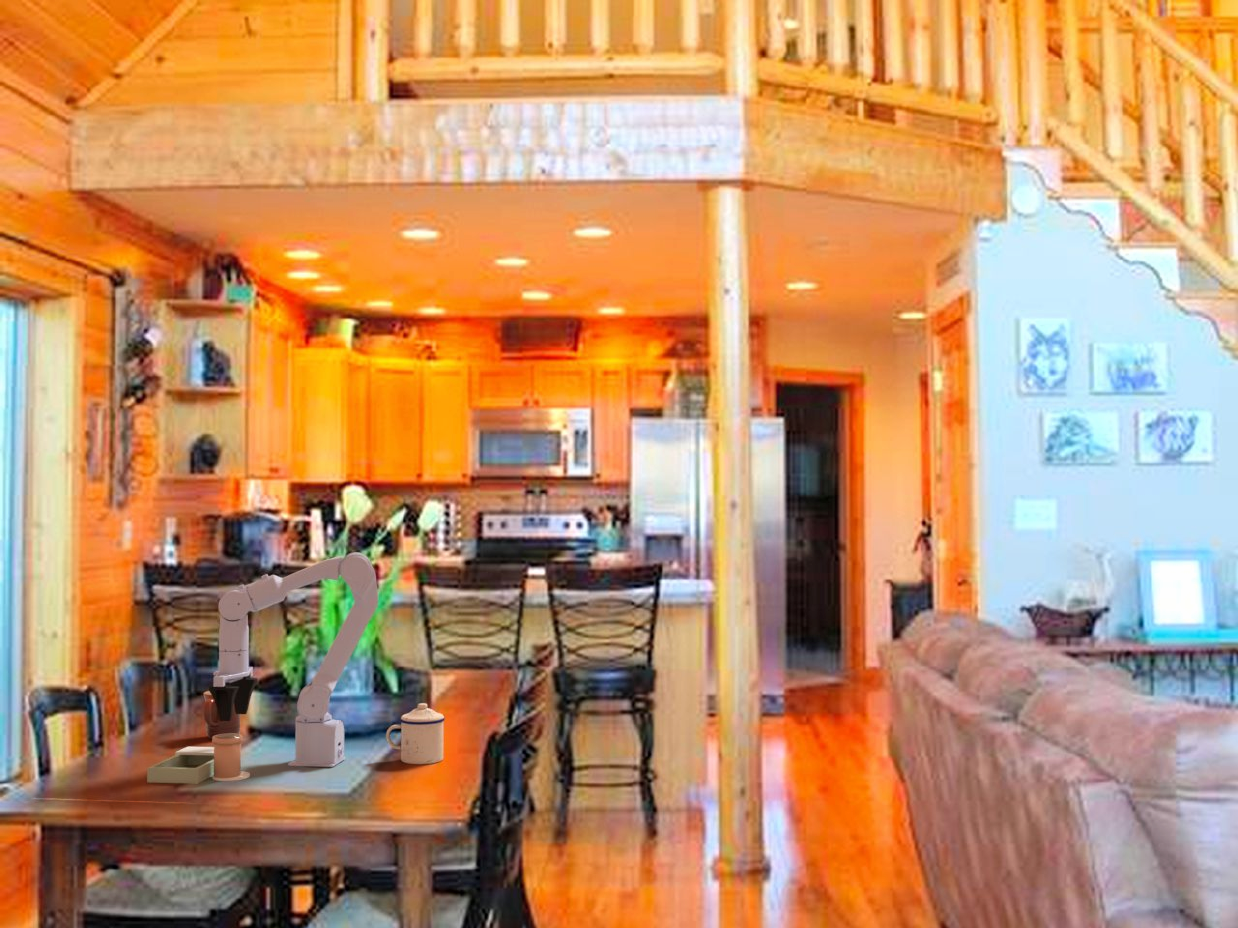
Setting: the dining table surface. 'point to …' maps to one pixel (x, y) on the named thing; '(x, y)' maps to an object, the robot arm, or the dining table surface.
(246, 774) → the saucer
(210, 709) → the mug
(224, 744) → the pot
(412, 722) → the teacup with lid
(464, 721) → the dining table surface
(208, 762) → the box with sliding lid
